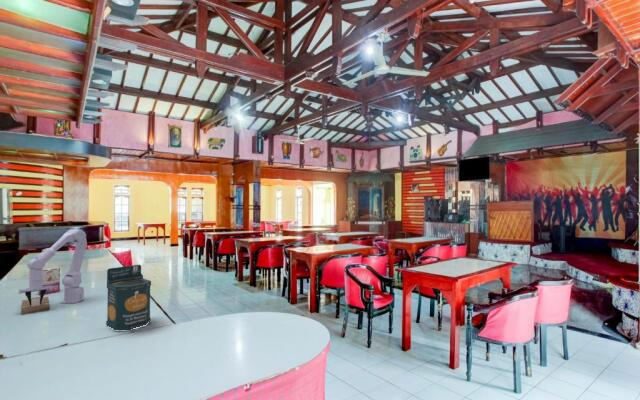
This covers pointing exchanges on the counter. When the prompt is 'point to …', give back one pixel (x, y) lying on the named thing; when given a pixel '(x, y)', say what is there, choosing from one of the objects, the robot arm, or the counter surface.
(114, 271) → the donation box
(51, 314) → the counter surface
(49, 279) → the candy bar box
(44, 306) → the socket board
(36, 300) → the plug
